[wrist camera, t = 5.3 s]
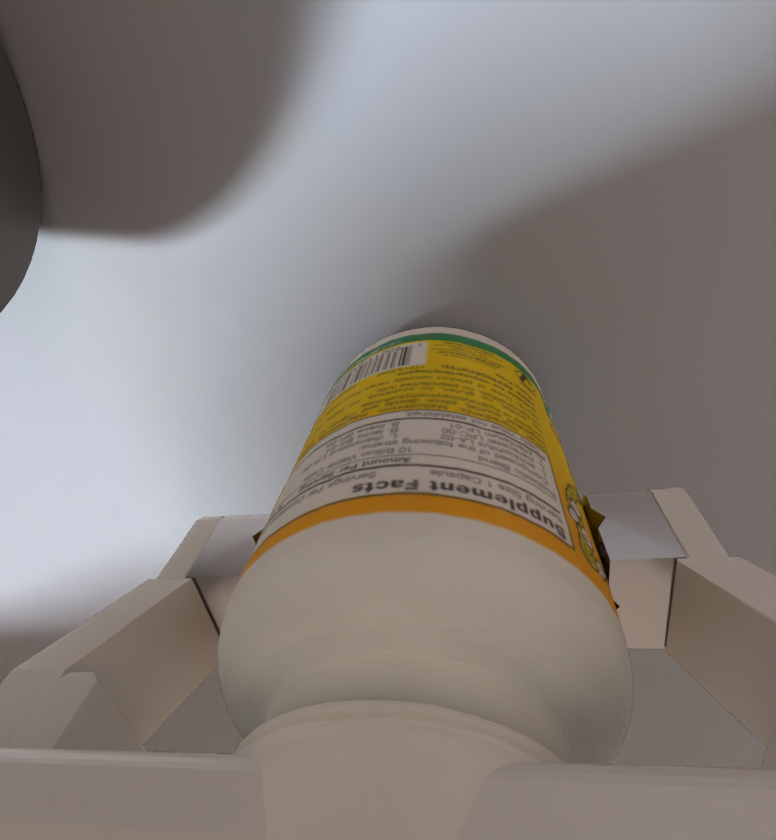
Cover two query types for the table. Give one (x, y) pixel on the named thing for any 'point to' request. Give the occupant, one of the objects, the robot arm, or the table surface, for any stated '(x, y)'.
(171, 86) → the table surface
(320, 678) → the supplement bottle
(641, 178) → the table surface
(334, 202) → the table surface
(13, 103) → the trolley
